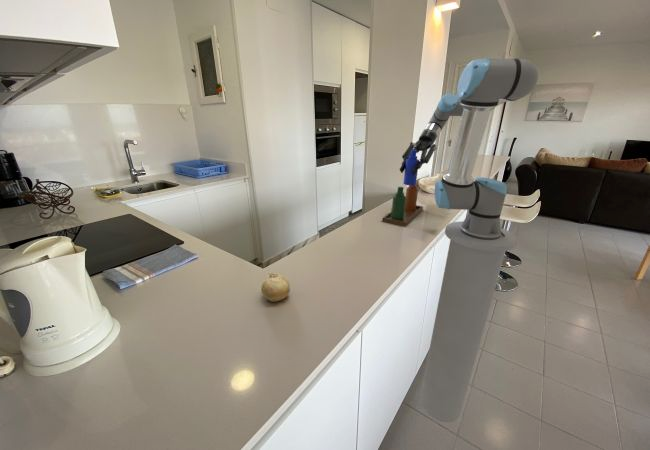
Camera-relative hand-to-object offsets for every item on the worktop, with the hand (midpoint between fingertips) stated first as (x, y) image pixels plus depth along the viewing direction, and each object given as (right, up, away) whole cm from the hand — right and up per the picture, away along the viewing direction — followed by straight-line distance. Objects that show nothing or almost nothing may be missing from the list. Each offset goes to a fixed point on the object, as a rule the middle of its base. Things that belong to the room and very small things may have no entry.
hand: (406, 172), depth 133 cm
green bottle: (-4, -23, +3) cm, 24 cm away
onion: (-53, -46, -54) cm, 89 cm away
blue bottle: (+3, -5, +5) cm, 7 cm away
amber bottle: (+7, -17, +19) cm, 26 cm away
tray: (+2, -21, +11) cm, 23 cm away
